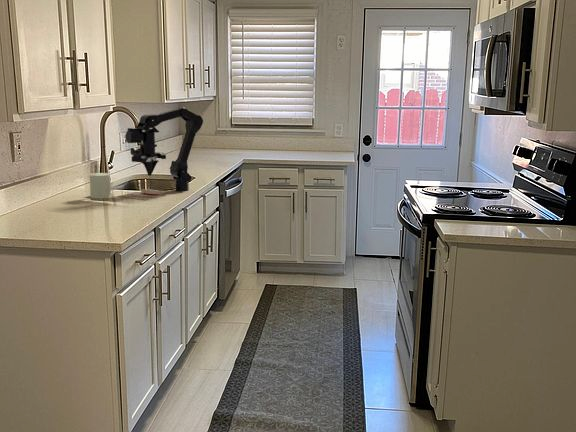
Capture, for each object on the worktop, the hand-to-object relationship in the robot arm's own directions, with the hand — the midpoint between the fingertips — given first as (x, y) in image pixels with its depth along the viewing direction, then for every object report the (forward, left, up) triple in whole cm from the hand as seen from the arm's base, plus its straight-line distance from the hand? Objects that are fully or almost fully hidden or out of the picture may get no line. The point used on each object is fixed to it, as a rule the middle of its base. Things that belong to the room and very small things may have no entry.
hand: (149, 175), depth 274 cm
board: (+7, 0, -10) cm, 12 cm away
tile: (+2, 0, -8) cm, 8 cm away
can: (+17, -15, -10) cm, 25 cm away
